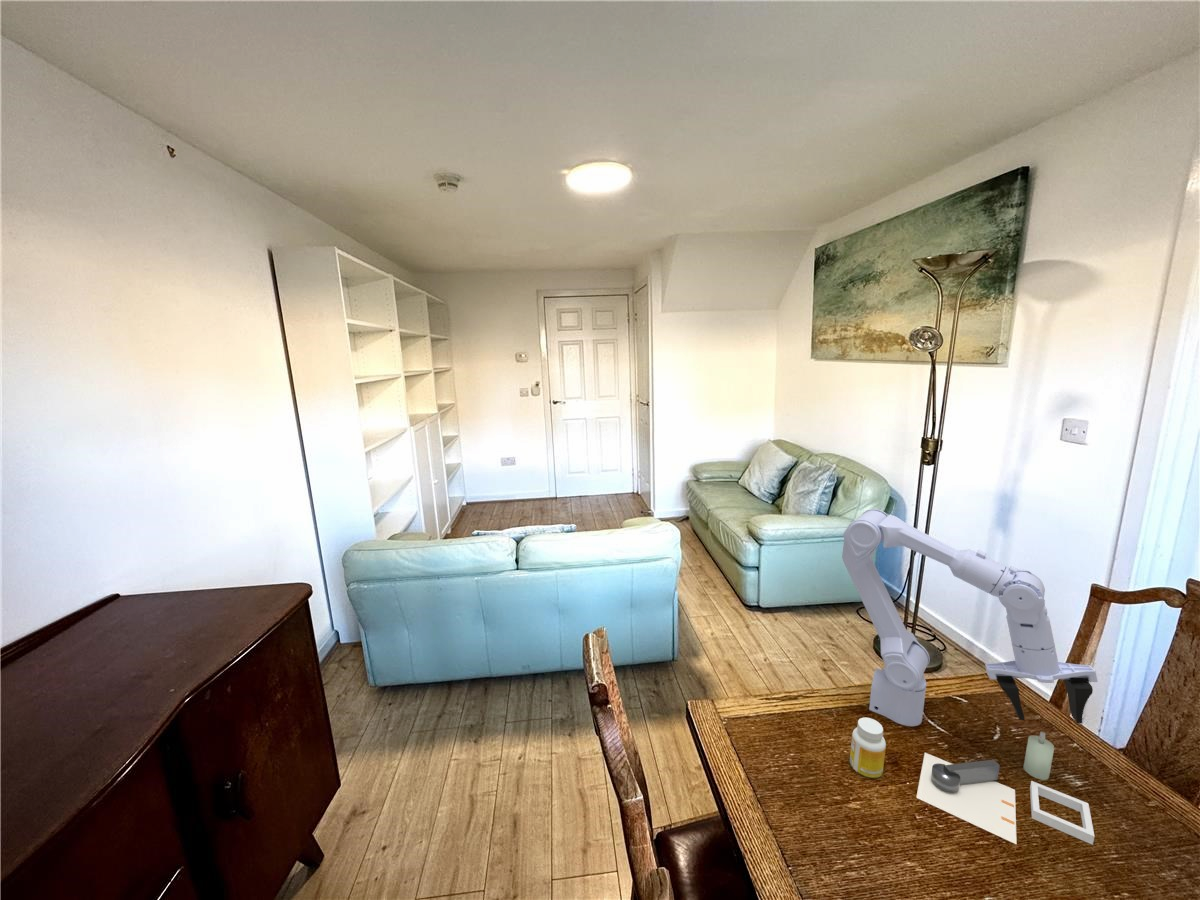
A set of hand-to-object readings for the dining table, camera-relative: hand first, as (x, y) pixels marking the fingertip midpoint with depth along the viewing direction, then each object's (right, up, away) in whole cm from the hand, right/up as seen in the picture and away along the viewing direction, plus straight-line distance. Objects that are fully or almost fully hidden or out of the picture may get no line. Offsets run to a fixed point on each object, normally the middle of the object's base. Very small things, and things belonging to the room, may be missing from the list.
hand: (1048, 718), depth 84 cm
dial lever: (-14, -11, 0) cm, 18 cm away
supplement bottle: (-30, -12, +4) cm, 32 cm away
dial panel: (-16, -13, -2) cm, 20 cm away
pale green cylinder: (0, -12, +2) cm, 12 cm away
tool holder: (-4, -13, -6) cm, 15 cm away
